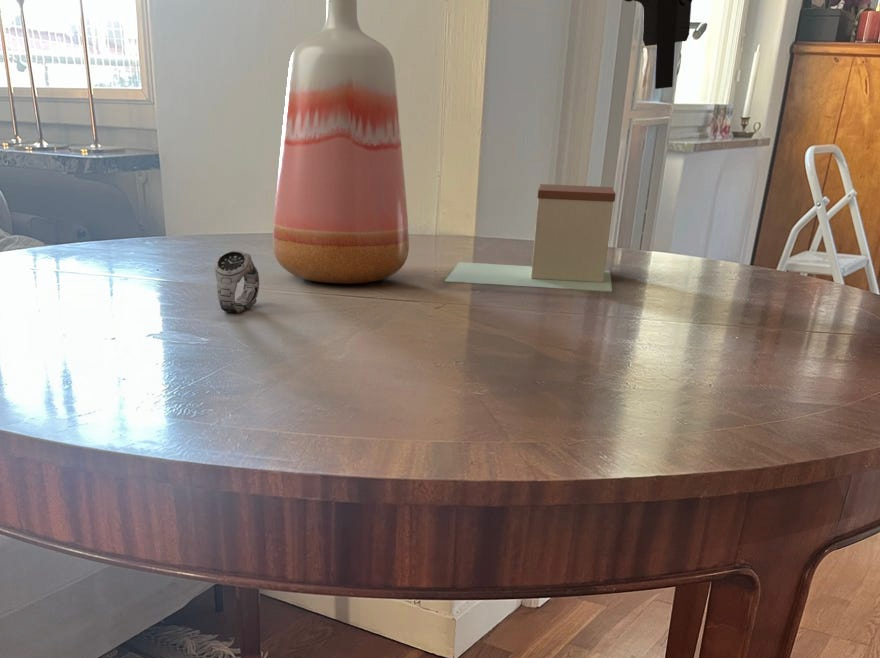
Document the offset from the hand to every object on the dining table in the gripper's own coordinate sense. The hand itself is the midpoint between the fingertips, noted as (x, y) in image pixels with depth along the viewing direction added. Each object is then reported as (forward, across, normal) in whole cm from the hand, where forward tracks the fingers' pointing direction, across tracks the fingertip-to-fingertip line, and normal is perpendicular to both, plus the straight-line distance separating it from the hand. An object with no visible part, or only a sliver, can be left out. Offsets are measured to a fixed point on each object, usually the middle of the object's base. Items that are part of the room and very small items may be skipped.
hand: (663, 79), depth 84 cm
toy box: (+24, -9, +6) cm, 26 cm away
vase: (+16, -33, -2) cm, 37 cm away
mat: (+23, -13, +5) cm, 27 cm away
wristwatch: (+7, -38, -19) cm, 43 cm away
